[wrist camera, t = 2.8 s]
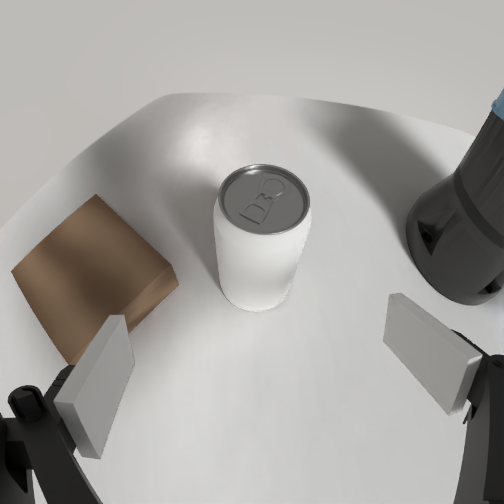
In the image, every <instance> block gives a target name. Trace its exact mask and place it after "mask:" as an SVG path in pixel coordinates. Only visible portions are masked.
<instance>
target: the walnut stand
mask: <svg viewBox="0 0 504 504" xmlns="http://www.w3.org/2000/svg"><path fill="white" fill-rule="evenodd" d="M11 272H12V274H13V276H14V278H15V280H16V282H17V284H18V286H19V287H20V289H21V291H22V293H23V295H24V296H25V298H26V300H27V302H28V303H29V305H30V307H31V309H32V310H33V312H34V314H35V315H36V317H37V318H38V320H39V322H40V323H41V325H42V326H43V328H44V330H45V331H46V333H47V334H48V336H49V337H50V339H51V340H52V342H53V343H54V345H55V346H56V348H57V349H58V350H59V352H60V353H61V355H62V356H63V357H64V359H65V360H66V362H67V363H68V364H69V365H76V364H77V363H78V361H79V360H80V358H81V357H82V355H83V353H84V352H85V350H86V349H87V347H88V346H89V345H90V343H91V342H92V340H93V339H94V337H95V336H96V334H97V333H98V331H99V330H100V328H101V327H102V326H103V324H104V323H105V321H106V320H107V318H108V317H109V315H124V316H125V321H126V326H127V331H128V333H129V332H130V331H131V330H133V329H134V328H135V327H136V326H137V325H138V324H139V323H140V322H141V321H142V320H143V319H144V318H145V317H146V316H147V315H148V314H149V313H150V312H151V311H152V310H153V309H154V308H155V307H156V306H157V305H158V304H159V303H160V302H161V301H162V300H163V299H164V298H165V297H166V296H167V295H168V294H169V293H170V292H172V291H173V290H174V289H175V288H176V287H177V286H178V285H179V284H178V281H177V279H176V276H175V274H174V271H173V268H172V266H171V264H170V263H169V262H168V261H167V260H166V259H165V258H164V257H162V256H161V255H160V254H159V253H158V252H157V251H156V250H155V249H154V248H153V247H151V246H150V245H149V244H148V243H147V242H146V241H145V240H144V239H143V238H142V237H141V236H140V235H138V234H137V233H136V232H135V231H134V230H133V229H132V228H131V227H130V226H129V225H128V224H127V223H126V222H125V221H124V220H123V219H121V218H120V217H119V216H118V215H117V214H116V213H115V212H114V211H113V210H112V209H111V208H110V207H109V206H108V205H107V204H106V203H105V202H104V201H103V200H102V199H101V198H100V197H99V196H98V195H97V194H95V195H94V196H93V197H92V198H90V199H89V200H88V201H87V202H85V203H84V204H83V205H82V206H81V207H79V208H78V209H77V210H76V211H75V212H74V213H72V214H71V215H70V216H69V217H68V218H67V219H65V220H64V221H63V222H62V223H61V224H60V225H59V226H58V227H56V228H55V229H54V230H53V231H52V232H51V233H50V234H49V235H48V236H47V237H45V238H44V239H43V240H42V241H41V242H40V243H39V244H38V245H37V246H36V247H35V248H34V249H33V250H32V251H31V252H30V253H29V254H28V255H27V256H26V257H25V258H24V259H23V260H22V261H21V262H20V263H19V264H18V265H17V266H16V267H15V268H14V269H13V270H12V271H11Z"/></svg>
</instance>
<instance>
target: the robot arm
mask: <svg viewBox="0 0 504 504" xmlns="http://www.w3.org/2000/svg"><path fill="white" fill-rule="evenodd" d="M491 107H492V110H491V112H490V114H489V116H488V118H487V119H486V121H485V123H484V125H483V126H482V128H481V130H480V132H479V134H478V135H477V137H476V139H475V140H474V142H473V143H472V145H471V147H470V148H469V150H468V151H467V153H466V154H465V156H464V158H463V159H462V161H461V163H460V164H459V166H458V167H457V169H456V170H455V172H454V173H453V174H451V175H450V176H448V177H447V178H445V179H444V180H443V181H441V182H440V183H438V184H437V185H435V186H434V187H432V188H431V189H429V190H428V191H426V192H425V193H424V194H423V195H422V196H421V197H420V198H419V199H418V200H417V202H416V203H415V205H414V206H413V208H412V209H411V211H410V213H409V216H408V219H407V225H406V234H407V241H408V245H409V248H410V251H411V254H412V256H413V259H414V261H415V263H416V265H417V266H418V268H419V270H420V271H421V273H422V274H423V275H424V277H425V278H426V279H427V280H428V282H429V283H430V284H431V285H432V286H433V287H434V288H435V289H436V290H437V291H439V292H440V293H441V294H442V295H444V296H445V297H447V298H449V299H450V300H452V301H454V302H457V303H460V304H463V305H479V304H482V303H484V302H486V301H488V300H489V299H490V298H492V297H493V296H495V295H496V294H497V293H499V292H500V290H501V289H502V288H503V287H504V89H503V90H502V92H501V94H500V95H499V97H498V99H497V100H495V101H494V102H493V104H492V106H491ZM383 342H384V343H385V344H386V345H387V346H388V347H389V348H390V350H391V351H392V352H393V353H394V354H395V355H396V356H397V357H398V358H399V360H400V361H401V362H402V363H403V364H404V365H405V366H406V367H407V369H408V370H409V371H410V372H411V373H412V374H413V375H414V376H415V378H416V379H417V380H418V381H419V382H420V383H421V384H422V386H423V387H424V388H425V389H426V390H427V391H428V393H429V394H430V395H431V396H432V397H433V398H434V399H435V401H436V402H437V403H438V404H439V405H440V406H441V408H442V409H443V410H444V411H445V412H446V413H447V415H448V416H449V415H452V414H454V413H457V412H459V411H461V410H462V409H463V407H464V404H465V402H466V399H468V400H469V401H470V402H471V406H470V408H469V410H468V412H467V415H466V417H465V419H464V421H463V424H465V423H466V421H467V420H468V422H467V431H466V440H465V447H464V454H463V460H462V466H461V471H460V477H459V482H458V486H457V491H456V495H455V500H454V504H504V355H492V356H489V355H488V354H487V353H485V352H484V351H483V350H482V349H480V348H479V347H478V346H476V345H475V344H473V342H471V341H470V340H469V339H468V340H467V338H466V337H465V336H463V335H462V334H461V333H459V332H456V331H454V330H452V329H449V328H448V327H447V326H445V325H444V324H443V323H441V322H440V321H439V320H437V319H436V318H435V317H433V316H432V315H431V314H429V313H428V312H427V311H425V310H424V309H423V308H421V307H420V306H419V305H417V304H416V303H415V302H413V301H412V300H410V299H409V298H408V297H406V296H405V295H404V294H402V293H397V294H390V295H389V301H388V309H387V317H386V324H385V331H384V337H383ZM134 365H135V361H134V357H133V352H132V348H131V344H130V340H129V335H128V331H127V326H126V321H125V316H124V315H109V317H108V318H107V320H106V321H105V323H104V324H103V326H102V327H101V328H100V330H99V331H98V333H97V334H96V336H95V337H94V339H93V340H92V342H91V343H90V345H89V346H88V347H87V349H86V350H85V352H84V353H83V355H82V357H81V358H80V360H79V361H78V363H77V364H76V365H68V366H67V367H65V368H64V369H63V370H61V371H60V373H59V374H58V376H57V377H56V380H54V382H53V383H52V386H50V388H49V389H48V391H47V392H46V394H45V395H44V397H43V396H42V393H41V391H40V390H39V388H38V387H35V386H32V385H26V386H21V387H19V388H17V389H15V390H14V391H13V392H11V393H10V395H9V397H8V403H9V405H10V407H11V409H12V411H13V413H14V415H15V417H16V418H3V417H2V415H1V413H0V504H35V499H34V490H33V480H32V470H34V472H35V475H36V478H37V480H38V483H39V485H40V487H41V490H42V492H43V494H44V497H45V499H46V501H47V503H48V504H103V503H102V502H101V500H100V498H99V497H98V495H97V494H96V492H95V491H94V489H93V488H92V486H91V484H90V483H89V481H88V479H87V478H86V476H85V474H84V473H83V471H82V469H81V467H80V466H79V464H78V462H77V460H76V459H75V457H74V455H73V453H74V450H75V448H76V447H77V449H78V451H79V453H80V454H81V456H82V457H87V458H94V459H101V456H102V453H103V450H104V447H105V444H106V441H107V438H108V435H109V432H110V429H111V426H112V423H113V421H114V418H115V415H116V412H117V409H118V407H119V404H120V401H121V399H122V396H123V393H124V391H125V388H126V385H127V383H128V380H129V377H130V375H131V372H132V370H133V367H134Z"/></svg>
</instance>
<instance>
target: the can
mask: <svg viewBox="0 0 504 504" xmlns="http://www.w3.org/2000/svg"><path fill="white" fill-rule="evenodd" d="M213 223H214V234H215V244H216V254H217V262H218V271H219V279H220V285H221V288H222V291H223V293H224V295H225V296H226V298H227V299H228V300H229V301H230V302H231V303H232V304H233V305H235V306H236V307H238V308H240V309H243V310H246V311H252V312H260V311H265V310H269V309H271V308H273V307H275V306H276V305H278V304H279V303H280V302H281V301H282V300H283V299H284V298H285V296H286V294H287V292H288V290H289V288H290V285H291V282H292V280H293V277H294V274H295V271H296V268H297V266H298V263H299V260H300V257H301V254H302V251H303V248H304V245H305V242H306V239H307V236H308V233H309V229H310V225H311V210H310V197H309V193H308V191H307V188H306V187H305V185H304V184H303V182H302V181H301V180H300V179H299V178H298V177H297V176H296V175H294V174H293V173H291V172H289V171H288V170H286V169H283V168H281V167H277V166H273V165H266V164H256V165H250V166H246V167H243V168H240V169H238V170H236V171H234V172H233V173H231V174H230V175H229V176H228V177H227V178H226V179H225V180H224V181H223V183H222V185H221V187H220V189H219V194H218V197H217V199H216V202H215V205H214V210H213Z"/></svg>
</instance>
